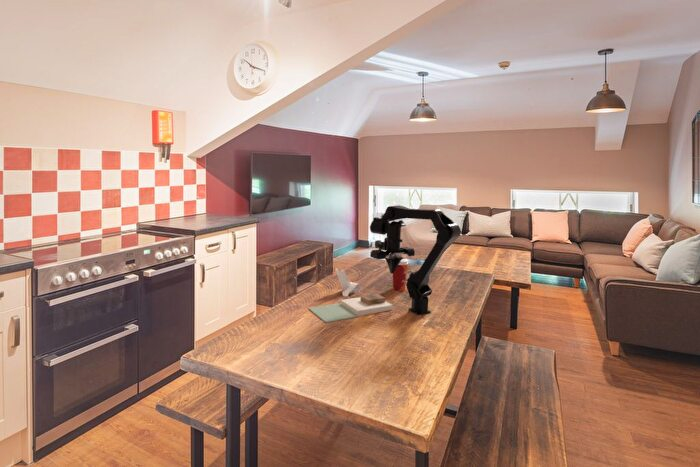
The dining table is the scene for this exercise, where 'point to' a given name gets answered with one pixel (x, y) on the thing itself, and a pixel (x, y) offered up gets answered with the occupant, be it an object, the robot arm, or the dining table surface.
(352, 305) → the deck
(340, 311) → the mat
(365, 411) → the dining table surface
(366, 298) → the walnut tile
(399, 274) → the paper cup
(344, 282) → the plastic part
